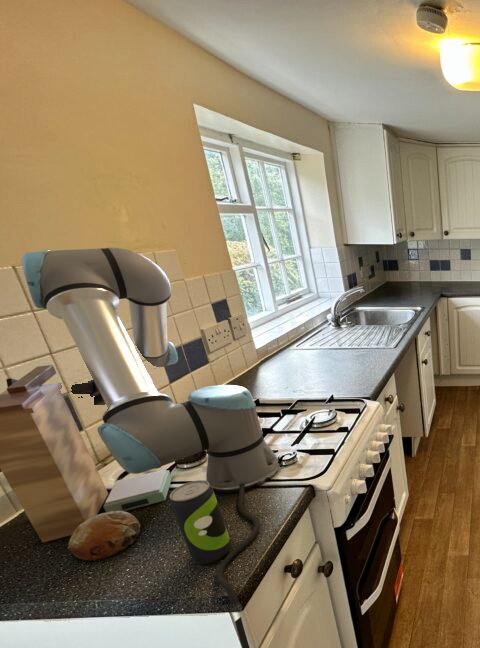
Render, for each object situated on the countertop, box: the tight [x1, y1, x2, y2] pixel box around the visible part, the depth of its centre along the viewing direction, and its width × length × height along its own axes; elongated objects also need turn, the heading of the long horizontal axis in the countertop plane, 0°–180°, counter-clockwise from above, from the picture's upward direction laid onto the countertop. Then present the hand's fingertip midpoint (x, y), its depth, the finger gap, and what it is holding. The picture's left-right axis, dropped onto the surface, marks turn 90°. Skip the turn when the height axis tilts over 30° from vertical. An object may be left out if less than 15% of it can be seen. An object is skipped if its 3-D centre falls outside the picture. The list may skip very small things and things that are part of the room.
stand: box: [0, 382, 109, 544], centre depth 83 cm, size 14×8×28 cm, turn 30°
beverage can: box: [169, 479, 232, 565], centre depth 76 cm, size 6×6×15 cm
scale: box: [102, 469, 173, 513], centre depth 94 cm, size 10×10×3 cm
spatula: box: [0, 364, 57, 413], centre depth 81 cm, size 22×6×2 cm, turn 30°
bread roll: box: [68, 511, 141, 561], centre depth 81 cm, size 10×10×8 cm
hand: (53, 378), depth 91 cm, fingers open, 13 cm apart
